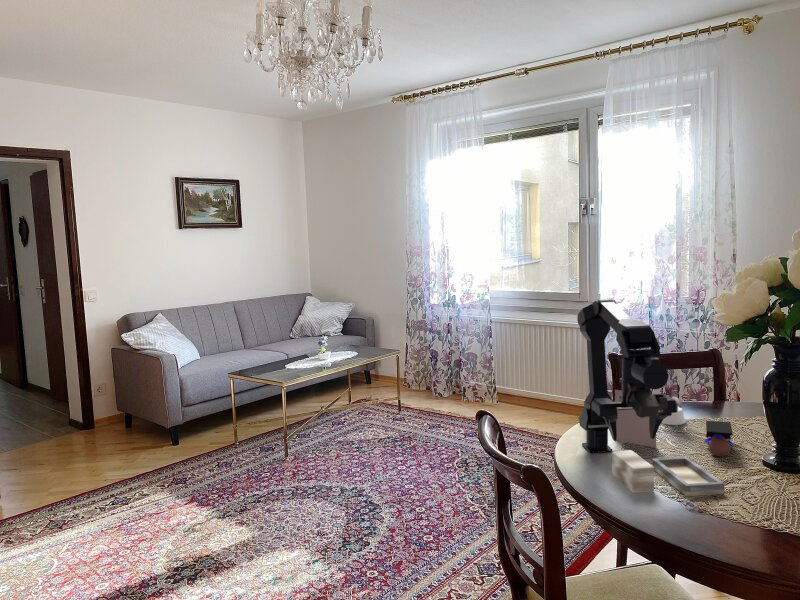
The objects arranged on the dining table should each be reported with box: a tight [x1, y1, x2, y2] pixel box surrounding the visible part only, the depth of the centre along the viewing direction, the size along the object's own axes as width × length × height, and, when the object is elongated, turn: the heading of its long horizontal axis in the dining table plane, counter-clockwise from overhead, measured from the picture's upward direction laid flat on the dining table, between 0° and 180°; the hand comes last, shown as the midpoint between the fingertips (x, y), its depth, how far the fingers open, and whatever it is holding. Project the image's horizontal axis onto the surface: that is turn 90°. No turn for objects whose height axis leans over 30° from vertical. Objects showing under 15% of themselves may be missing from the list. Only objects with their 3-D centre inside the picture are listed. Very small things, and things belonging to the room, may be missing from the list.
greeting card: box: [614, 389, 657, 448], centre depth 167 cm, size 11×7×15 cm, turn 16°
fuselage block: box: [611, 449, 655, 494], centre depth 142 cm, size 11×5×6 cm, turn 6°
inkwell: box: [661, 396, 687, 426], centre depth 180 cm, size 9×18×10 cm, turn 171°
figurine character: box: [704, 420, 734, 457], centre depth 161 cm, size 7×8×15 cm
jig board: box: [651, 456, 725, 497], centre depth 142 cm, size 16×9×2 cm, turn 3°
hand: (633, 439), depth 141 cm, fingers open, 9 cm apart
